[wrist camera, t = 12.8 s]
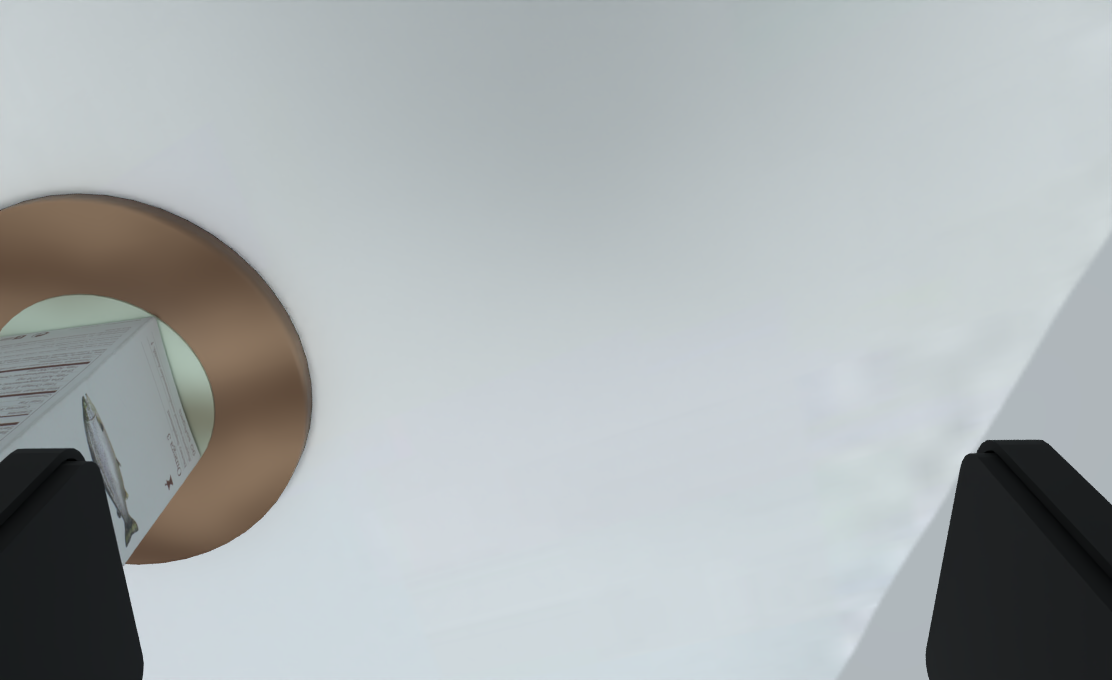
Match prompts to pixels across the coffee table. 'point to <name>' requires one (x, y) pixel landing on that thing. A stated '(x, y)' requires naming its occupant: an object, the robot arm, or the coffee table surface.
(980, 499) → the robot arm
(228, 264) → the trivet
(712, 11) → the coffee table surface
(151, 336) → the supplement box
